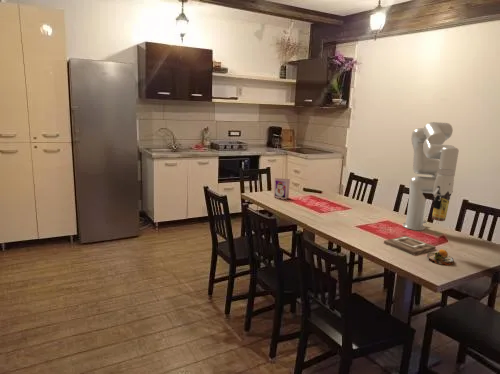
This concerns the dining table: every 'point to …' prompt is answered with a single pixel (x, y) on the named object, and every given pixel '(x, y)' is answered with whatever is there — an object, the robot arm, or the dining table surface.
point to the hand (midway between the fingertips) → (440, 207)
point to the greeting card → (281, 188)
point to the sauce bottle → (441, 208)
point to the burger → (440, 257)
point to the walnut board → (409, 245)
